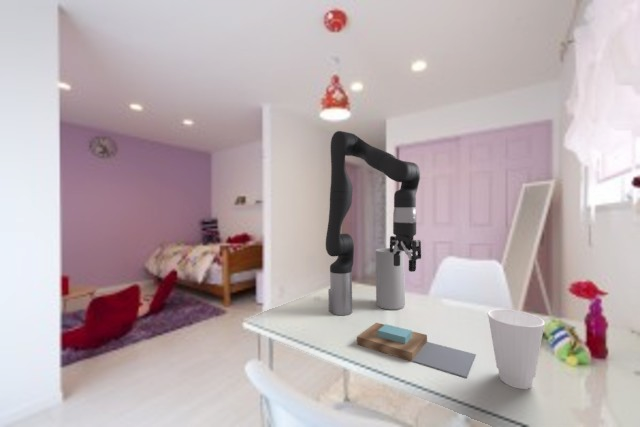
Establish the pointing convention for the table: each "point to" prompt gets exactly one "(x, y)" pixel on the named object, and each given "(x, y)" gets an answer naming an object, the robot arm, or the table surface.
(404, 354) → the block
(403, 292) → the cylinder vase
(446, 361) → the mat
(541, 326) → the cup
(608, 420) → the table surface
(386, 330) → the tile
